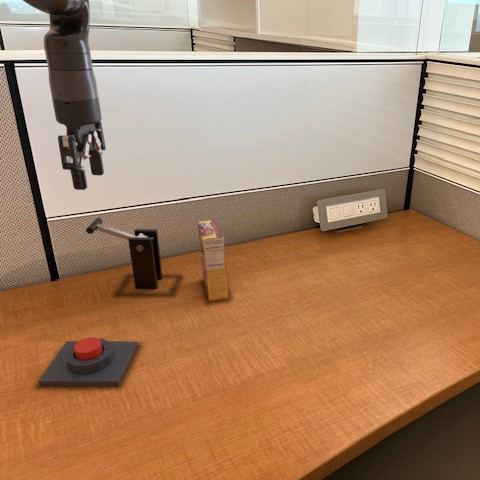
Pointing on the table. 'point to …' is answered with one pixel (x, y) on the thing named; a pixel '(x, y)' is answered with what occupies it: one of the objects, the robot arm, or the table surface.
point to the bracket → (145, 259)
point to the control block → (90, 366)
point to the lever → (111, 230)
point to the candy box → (213, 259)
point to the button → (88, 349)
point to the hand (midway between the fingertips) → (89, 181)
